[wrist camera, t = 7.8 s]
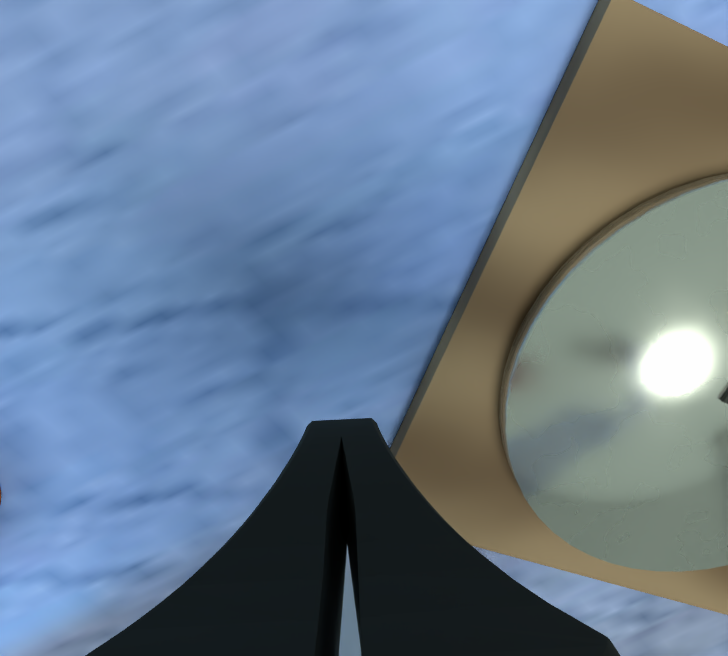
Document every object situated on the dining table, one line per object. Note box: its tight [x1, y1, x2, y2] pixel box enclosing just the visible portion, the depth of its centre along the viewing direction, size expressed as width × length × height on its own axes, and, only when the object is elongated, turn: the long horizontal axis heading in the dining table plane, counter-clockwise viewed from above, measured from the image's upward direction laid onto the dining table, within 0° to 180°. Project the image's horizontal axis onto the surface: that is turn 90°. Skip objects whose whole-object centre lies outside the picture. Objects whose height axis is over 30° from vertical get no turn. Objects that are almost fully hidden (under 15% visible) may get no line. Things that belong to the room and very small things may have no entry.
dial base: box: [390, 0, 728, 615], centre depth 21 cm, size 20×20×2 cm
